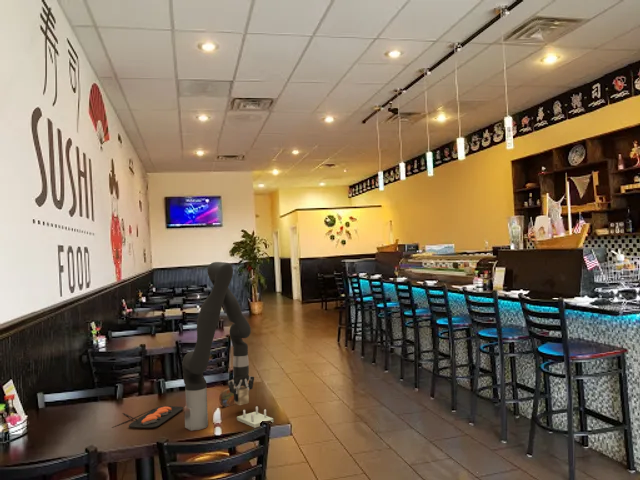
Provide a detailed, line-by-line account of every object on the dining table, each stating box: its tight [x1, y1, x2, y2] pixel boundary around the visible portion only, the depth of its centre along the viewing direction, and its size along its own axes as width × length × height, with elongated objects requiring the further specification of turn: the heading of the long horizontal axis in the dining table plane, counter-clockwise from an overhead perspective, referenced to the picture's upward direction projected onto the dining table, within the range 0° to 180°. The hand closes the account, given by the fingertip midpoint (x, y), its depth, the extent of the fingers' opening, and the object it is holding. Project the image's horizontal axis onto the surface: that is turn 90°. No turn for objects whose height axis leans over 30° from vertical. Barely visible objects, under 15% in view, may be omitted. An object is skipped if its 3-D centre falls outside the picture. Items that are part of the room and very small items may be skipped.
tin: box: [218, 387, 236, 408], centre depth 256 cm, size 15×3×8 cm, turn 143°
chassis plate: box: [236, 406, 274, 429], centre depth 228 cm, size 10×15×5 cm, turn 40°
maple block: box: [234, 386, 250, 406], centre depth 241 cm, size 5×5×7 cm
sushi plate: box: [111, 405, 184, 429], centre depth 239 cm, size 29×30×4 cm
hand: (241, 399), depth 241 cm, fingers closed on maple block, 5 cm apart
